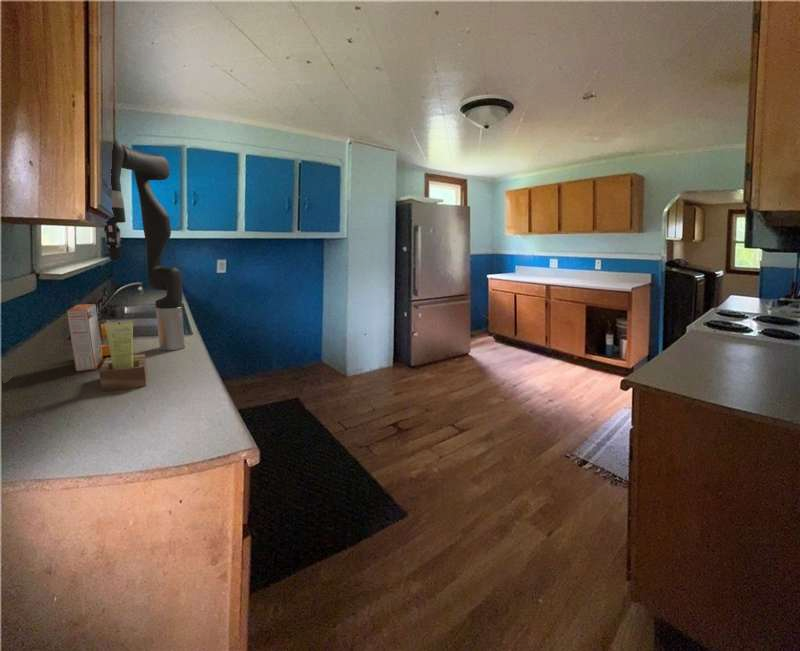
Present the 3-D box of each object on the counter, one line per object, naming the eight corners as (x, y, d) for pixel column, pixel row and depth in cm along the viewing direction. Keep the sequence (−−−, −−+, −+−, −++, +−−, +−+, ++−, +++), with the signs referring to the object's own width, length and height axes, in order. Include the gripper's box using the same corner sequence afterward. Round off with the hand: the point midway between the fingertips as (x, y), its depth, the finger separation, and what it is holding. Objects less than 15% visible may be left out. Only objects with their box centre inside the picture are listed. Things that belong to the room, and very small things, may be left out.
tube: (123, 380, 129) (116, 319, 125) (139, 380, 129) (133, 320, 125) (111, 386, 123) (103, 323, 119) (128, 386, 123) (121, 323, 119)
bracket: (96, 352, 160) (92, 322, 158) (118, 350, 164) (115, 321, 162) (96, 359, 152) (92, 327, 149) (119, 356, 156) (116, 325, 154)
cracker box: (83, 361, 148) (75, 304, 144) (103, 359, 151) (96, 303, 147) (74, 372, 136) (65, 310, 132) (96, 370, 139) (88, 309, 135)
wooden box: (107, 376, 132) (105, 357, 131) (147, 371, 138) (145, 354, 137) (101, 391, 119) (99, 371, 118) (146, 386, 124) (144, 366, 123)
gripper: (97, 207, 130) (103, 258, 133) (91, 204, 118) (98, 260, 121) (125, 208, 134) (130, 258, 137) (122, 205, 122) (128, 260, 125)
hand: (115, 259), depth 129 cm, fingers open, 8 cm apart
